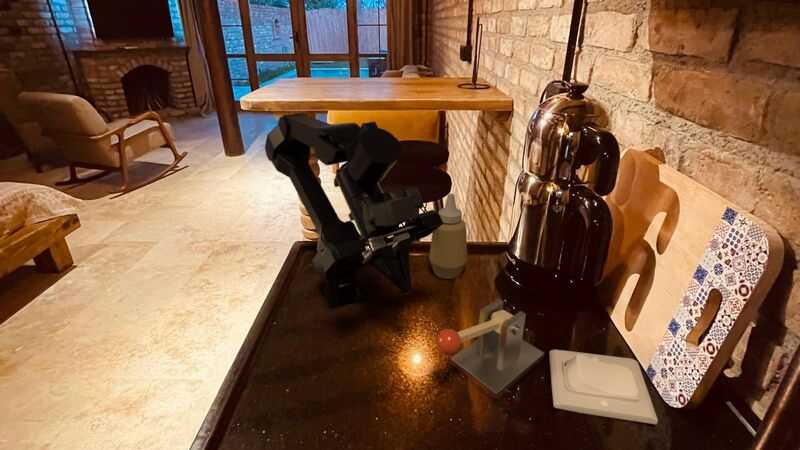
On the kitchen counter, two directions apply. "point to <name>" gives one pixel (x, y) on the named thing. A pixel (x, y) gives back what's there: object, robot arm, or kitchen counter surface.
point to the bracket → (498, 354)
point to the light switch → (600, 386)
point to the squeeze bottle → (449, 242)
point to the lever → (469, 332)
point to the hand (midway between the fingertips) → (408, 292)
